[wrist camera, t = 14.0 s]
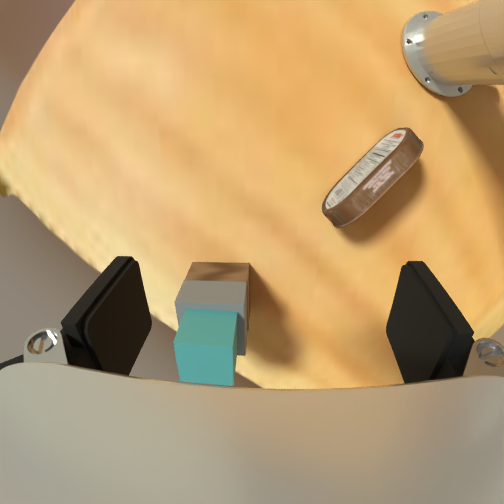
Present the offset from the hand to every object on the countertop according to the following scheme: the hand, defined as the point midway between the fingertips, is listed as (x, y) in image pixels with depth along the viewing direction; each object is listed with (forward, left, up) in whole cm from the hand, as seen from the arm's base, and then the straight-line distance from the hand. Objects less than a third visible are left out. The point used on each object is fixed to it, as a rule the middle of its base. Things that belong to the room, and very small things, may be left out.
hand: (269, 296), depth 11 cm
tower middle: (+6, +18, -25) cm, 31 cm away
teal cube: (+6, +18, -20) cm, 28 cm away
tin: (-12, 0, -30) cm, 32 cm away
